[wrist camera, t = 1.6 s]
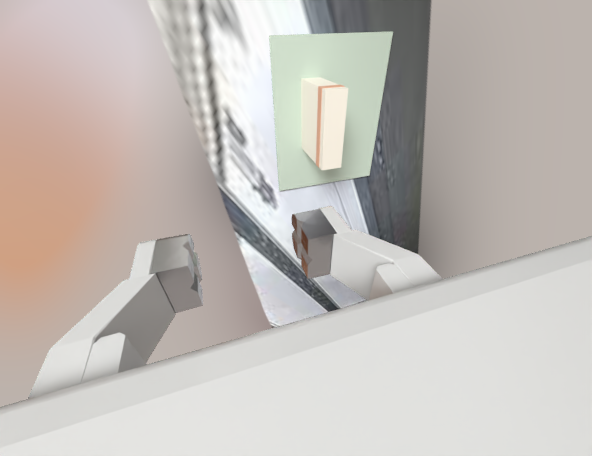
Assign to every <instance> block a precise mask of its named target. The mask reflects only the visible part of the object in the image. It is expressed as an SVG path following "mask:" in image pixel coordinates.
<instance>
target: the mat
mask: <svg viewBox="0 0 592 456" xmlns="http://www.w3.org/2000/svg"><path fill="white" fill-rule="evenodd" d="M392 35H393V32H363V33H332V34H301V35H270V36H269V41H270V57H271V72H272V88H273V104H274V119H275V135H276V150H277V166H278V181H279V191H282V190H288V189H294V188H300V187H306V186H312V185H317V184H323V183H329V182H335V181H341V180H347V179H353V178H358V177H364V176H369V175H370V168H371V162H372V156H373V150H374V144H375V138H376V132H377V126H378V120H379V114H380V108H381V102H382V96H383V90H384V84H385V78H386V72H387V65H388V59H389V53H390V47H391V41H392ZM317 77H321V78H324V79H326V80H329V81H331V82H334V83H336V84H339V85H343V86H345V87H346V88H348V98H347V109H346V120H345V131H344V142H343V152H342V163H341V168H334V169H328V170H321V169H320V168H319V167H318V166H317V165H316V163H315V162H314V161H313V160H312V159H311V158H310V157H309V156H308V155H307V153H306V152H305V151H304V150H303V149H302V135H301V79H303V78H317Z"/></svg>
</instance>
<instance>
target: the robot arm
mask: <svg viewBox="0 0 592 456" xmlns="http://www.w3.org/2000/svg"><path fill="white" fill-rule="evenodd" d="M292 225H293V227H294V229H295V230H294V232H293V233H292V239H293V246H294V250H295V253H296V255H297V257H298V258H299V259H301V266H302V268H303V270H304V272H305V274H306V277H307V279H310V278H314V277H319V276H323V275H328V274H330V275H331V276H332V277H334V278H335V279H337V280H338V281H340V282H341V283H342V284H344V285H345V286H347V287H348V288H350V289H351V290H353V291H354V292H356V293H357V294H359V295H360V296H362V297H363V298H364V299H366V300H367V301H365V302H362V303H358V304H355V305H351V306H348V307H345V308H341V309H338V310H334V311H331V312H327V313H324V314H320V315H317V316H313V317H310V318H306V319H303V320H300V321H296V322H293V323H289V324H286V325H282V326H279V327H275V328H272V329H269V330H265V331H262V332H258V333H255V334H251V335H248V336H244V337H241V338H238V339H234V340H230V341H227V342H224V343H220V344H217V345H213V346H210V347H206V348H203V349H200V350H196V351H192V352H189V353H185V354H182V355H179V356H175V357H172V358H168V359H165V360H162V361H158V362H154V363H151V364H146V362H147V360H148V359H149V357H150V355H151V354H152V352H153V351H154V349H155V347H156V346H157V344H158V342H159V341H160V339H161V338H162V336H163V334H164V333H165V331H166V330H167V328H168V326H169V325H170V323H171V321H172V320H173V318H174V316H175V313H178V312H181V311H185V310H189V309H192V308H196V307H199V306H202V305H203V297H202V288H201V285H200V281H201V280H202V274H201V267H200V263H199V259H198V256H197V254H196V253H195V252H194V243H193V240H192V238H191V235H190V234H185V235H179V236H174V237H168V238H163V239H157V240H151V241H146V242H140V243H139V244H138V246H137V250H136V254H135V258H134V262H133V266H132V270H131V274H130V278H129V279H127V280H124V281H123V282H121V283H120V284H119V285H118V286H117V287H116V288H115V289H114V290H113V291H112V292H111V293H110V294H109V295H107V296H106V297H105V298H104V299H103V300H102V301H101V302H100V303H99V304H98V305H97V306H96V307H94V308H93V309H92V310H91V311H90V312H89V313H88V314H87V315H86V316H85V317H84V318H83V319H82V320H81V321H79V322H78V323H77V324H76V325H75V326H74V327H73V328H72V329H71V330H70V331H69V332H68V333H67V334H65V335H64V336H63V337H62V338H61V339H60V340H59V341H58V342H57V343H56V344H55V345H54V346H53V347H51V348H50V350H49V352H48V354H47V357H46V359H45V361H44V364H43V366H42V368H41V370H40V372H39V375H38V377H37V379H36V382H35V384H34V386H33V389H32V391H31V393H30V395H29V397H28V399H26V400H23V401H19V402H16V403H13V404H9V405H6V406H2V407H0V456H592V236H590V237H587V238H583V239H580V240H577V241H573V242H569V243H566V244H563V245H559V246H556V247H552V248H549V249H545V250H542V251H538V252H535V253H532V254H528V255H524V256H521V257H517V258H514V259H511V260H507V261H504V262H500V263H497V264H493V265H490V266H487V267H483V268H479V269H476V270H473V271H469V272H466V273H462V274H459V275H455V276H452V277H449V278H445V279H442V278H441V277H440V276H439V275H438V274H437V273H436V272H435V271H434V270H433V269H432V268H431V267H430V266H429V265H428V264H427V263H426V262H425V261H424V260H423V258H422V257H421V256H420V255H418V254H416V253H413V252H411V251H408V250H406V249H403V248H401V247H398V246H396V245H393V244H391V243H388V242H386V241H383V240H381V239H378V238H376V237H373V236H371V235H368V234H366V233H363V232H361V231H358V230H351V228H350V227H349V226H348V225H347V223H346V222H345V221H344V220H343V218H342V217H341V216H340V215H339V213H338V212H337V211H336V210H335V209H334V207H332V206H328V207H324V208H319V209H316V210H311V211H306V212H302V213H297V214H292Z"/></svg>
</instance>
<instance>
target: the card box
mask: <svg viewBox="0 0 592 456" xmlns="http://www.w3.org/2000/svg"><path fill="white" fill-rule="evenodd" d="M347 98H348V88H346V87H345V86H343V85H339V84H336V83H334V82H331V81H329V80H326V79H324V78H321V77H317V78H303V79H301V135H302V149H303V150H304V151H305V152H306V153H307V155H308V156H309V157H310V158H311V159H312V160H313V161H314V162H315V163H316V165H317V166H318V167H319V168H320V169H321V170H328V169H334V168H341V163H342V152H343V142H344V131H345V120H346V109H347Z"/></svg>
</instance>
